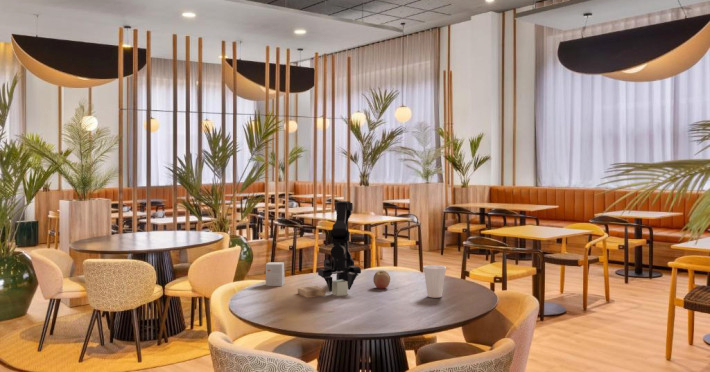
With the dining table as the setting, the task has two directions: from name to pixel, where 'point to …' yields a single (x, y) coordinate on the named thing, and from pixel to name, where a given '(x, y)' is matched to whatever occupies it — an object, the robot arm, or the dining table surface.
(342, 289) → the sage cube
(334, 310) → the dining table surface
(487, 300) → the dining table surface
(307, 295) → the oak block
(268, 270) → the small box
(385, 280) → the fruit
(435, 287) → the cup
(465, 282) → the dining table surface
